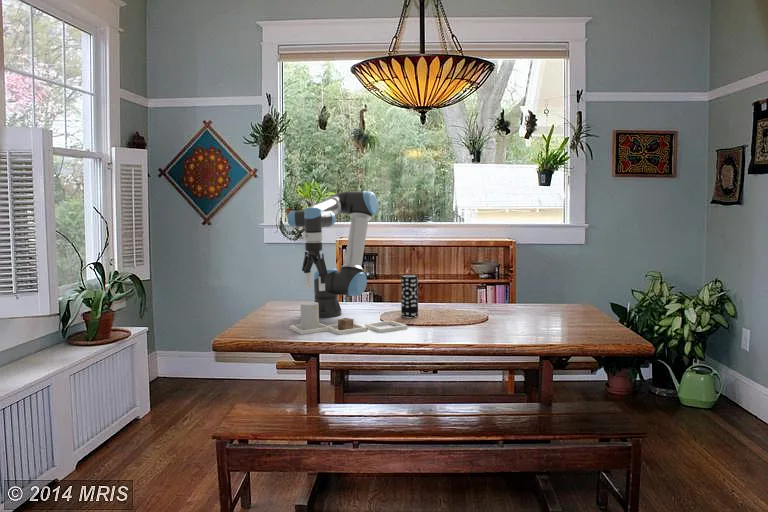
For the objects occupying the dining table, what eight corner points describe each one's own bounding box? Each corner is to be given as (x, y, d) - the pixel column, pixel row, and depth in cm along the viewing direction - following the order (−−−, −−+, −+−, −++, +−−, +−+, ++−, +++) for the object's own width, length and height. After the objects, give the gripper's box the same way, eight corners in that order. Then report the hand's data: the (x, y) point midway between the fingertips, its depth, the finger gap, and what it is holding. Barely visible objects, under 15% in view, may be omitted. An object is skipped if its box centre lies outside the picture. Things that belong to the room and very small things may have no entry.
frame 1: (289, 328, 310) (289, 325, 310) (317, 325, 317) (317, 321, 317) (302, 334, 298) (302, 330, 298) (330, 330, 305) (330, 327, 305)
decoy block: (337, 330, 305) (337, 319, 305) (345, 328, 309) (345, 317, 308) (346, 331, 302) (345, 320, 301) (353, 329, 306) (353, 318, 305)
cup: (316, 331, 303) (315, 305, 301) (298, 331, 304) (297, 304, 303) (321, 327, 311) (320, 302, 309) (304, 327, 312) (303, 301, 311)
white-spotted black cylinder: (420, 315, 337) (419, 275, 335) (415, 318, 330) (415, 277, 328) (404, 314, 340) (403, 274, 338) (399, 317, 332) (398, 277, 330)
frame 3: (365, 327, 311) (365, 323, 310) (391, 323, 318) (391, 320, 318) (380, 332, 299) (380, 329, 298) (407, 328, 306) (407, 325, 306)
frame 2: (324, 329, 308) (324, 325, 308) (352, 325, 315) (352, 322, 315) (339, 334, 296) (338, 331, 296) (366, 330, 303) (366, 327, 303)
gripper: (293, 240, 311) (295, 286, 314) (319, 244, 291) (320, 293, 293) (308, 239, 315) (309, 284, 318) (334, 243, 295) (335, 291, 297)
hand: (314, 288), depth 305 cm, fingers open, 13 cm apart
